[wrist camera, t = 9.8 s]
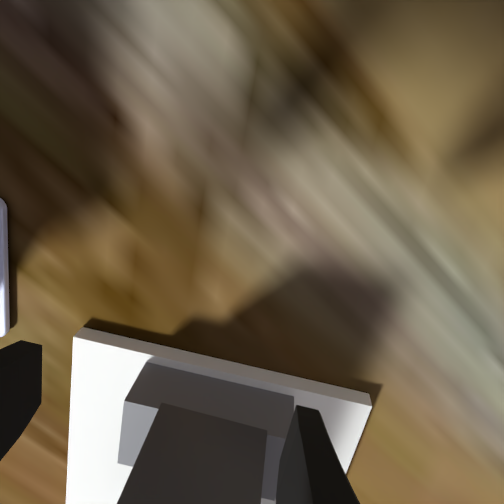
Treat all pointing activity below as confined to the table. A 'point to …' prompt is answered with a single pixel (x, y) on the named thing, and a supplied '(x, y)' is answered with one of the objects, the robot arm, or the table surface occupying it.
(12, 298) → the table surface
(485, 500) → the table surface
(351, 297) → the table surface
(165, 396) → the stand
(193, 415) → the glasses case
